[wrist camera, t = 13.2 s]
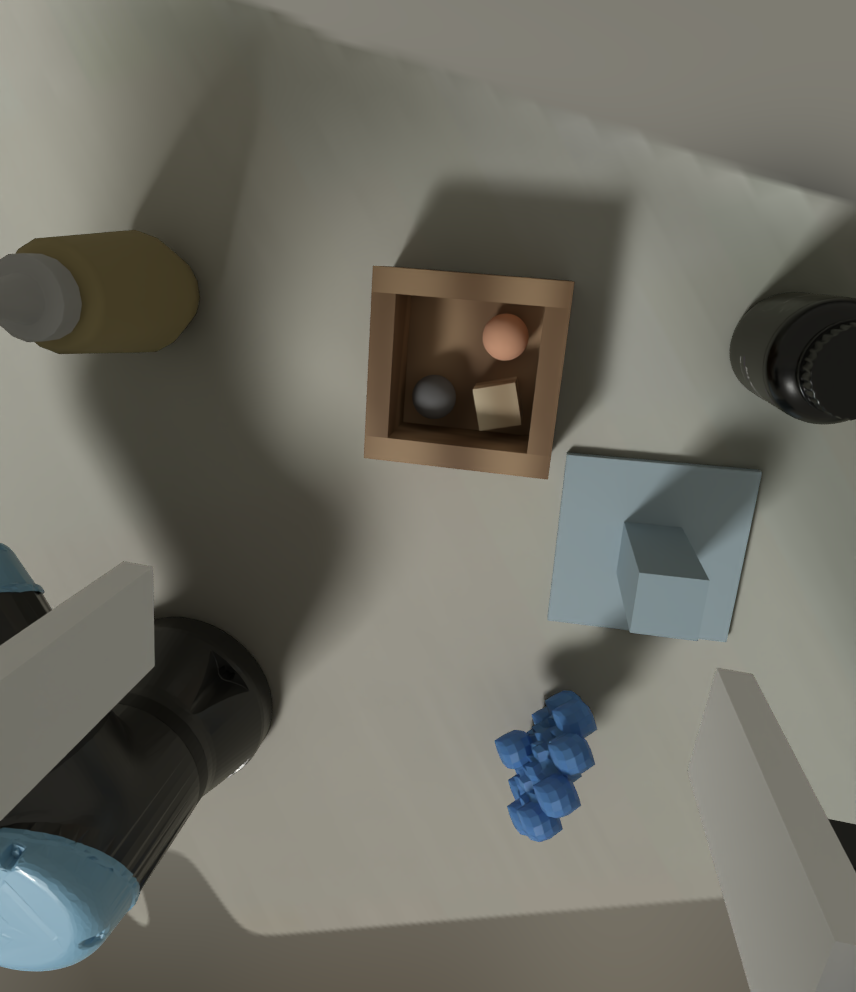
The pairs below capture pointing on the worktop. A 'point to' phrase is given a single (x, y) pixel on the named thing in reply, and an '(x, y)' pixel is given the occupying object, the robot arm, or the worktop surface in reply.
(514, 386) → the maple cube
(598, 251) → the worktop surface
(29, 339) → the squeeze bottle
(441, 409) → the ball
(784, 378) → the supplement bottle
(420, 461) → the box
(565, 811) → the grapes
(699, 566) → the lid
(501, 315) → the ball
